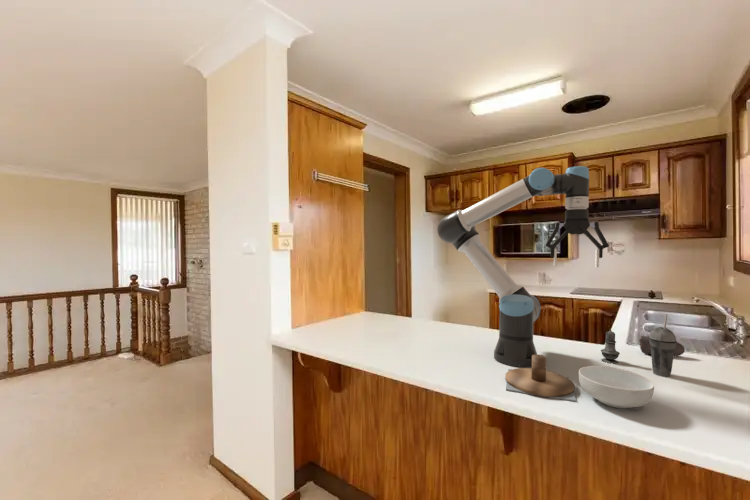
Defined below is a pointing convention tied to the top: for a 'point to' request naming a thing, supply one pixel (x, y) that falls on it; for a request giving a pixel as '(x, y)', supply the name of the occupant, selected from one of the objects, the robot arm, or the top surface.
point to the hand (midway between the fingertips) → (575, 266)
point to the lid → (539, 380)
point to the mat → (568, 397)
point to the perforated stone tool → (646, 346)
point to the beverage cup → (662, 350)
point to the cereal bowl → (616, 386)
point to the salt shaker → (610, 348)
